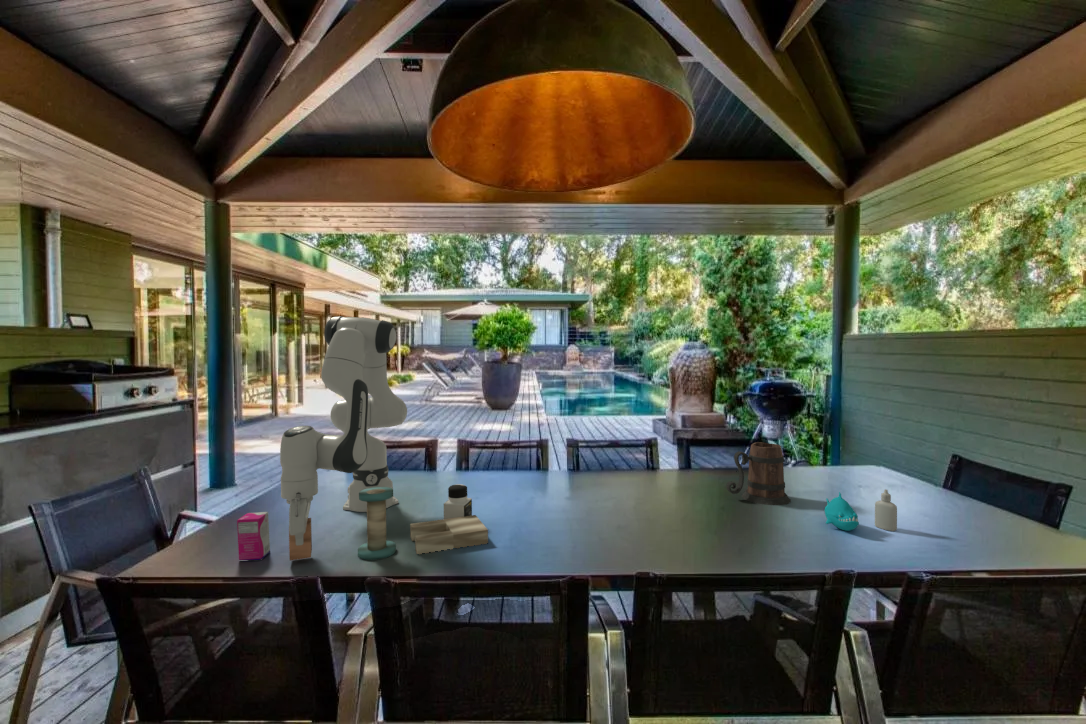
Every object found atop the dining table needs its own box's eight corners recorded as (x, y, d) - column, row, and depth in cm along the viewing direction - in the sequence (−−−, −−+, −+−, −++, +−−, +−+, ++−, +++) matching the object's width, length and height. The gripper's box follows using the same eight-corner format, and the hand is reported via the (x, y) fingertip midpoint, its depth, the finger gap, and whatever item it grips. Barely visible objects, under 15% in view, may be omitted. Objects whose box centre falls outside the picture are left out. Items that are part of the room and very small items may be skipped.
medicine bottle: (464, 526, 157) (464, 489, 157) (443, 525, 159) (442, 488, 159) (472, 519, 164) (471, 483, 164) (451, 518, 166) (451, 482, 166)
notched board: (410, 537, 149) (410, 523, 149) (475, 527, 157) (475, 514, 157) (417, 554, 136) (417, 540, 136) (488, 543, 144) (487, 529, 144)
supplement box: (248, 553, 138) (247, 512, 138) (270, 552, 139) (269, 511, 138) (237, 562, 132) (236, 519, 132) (260, 561, 133) (259, 518, 132)
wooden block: (291, 553, 134) (290, 520, 134) (311, 550, 136) (311, 517, 136) (289, 560, 130) (288, 526, 129) (310, 557, 131) (310, 523, 131)
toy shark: (836, 536, 147) (836, 500, 147) (810, 516, 165) (811, 484, 165) (871, 537, 146) (872, 501, 146) (842, 517, 164) (842, 484, 164)
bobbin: (357, 548, 141) (356, 488, 140) (394, 543, 144) (393, 484, 144) (358, 562, 131) (357, 498, 131) (397, 556, 135) (396, 494, 135)
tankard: (773, 490, 195) (774, 439, 194) (801, 504, 178) (801, 448, 178) (716, 493, 192) (716, 441, 192) (739, 507, 175) (739, 450, 175)
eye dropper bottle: (886, 525, 156) (887, 487, 156) (899, 531, 151) (899, 492, 150) (872, 525, 156) (873, 487, 156) (884, 531, 151) (884, 492, 150)
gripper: (310, 497, 124) (311, 552, 124) (314, 477, 143) (315, 525, 143) (282, 501, 121) (283, 557, 122) (289, 480, 140) (290, 528, 141)
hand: (300, 539), depth 133 cm, fingers closed on wooden block, 5 cm apart
